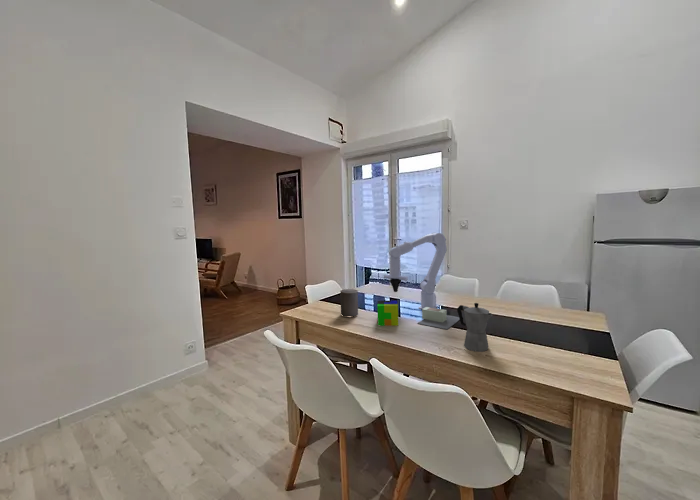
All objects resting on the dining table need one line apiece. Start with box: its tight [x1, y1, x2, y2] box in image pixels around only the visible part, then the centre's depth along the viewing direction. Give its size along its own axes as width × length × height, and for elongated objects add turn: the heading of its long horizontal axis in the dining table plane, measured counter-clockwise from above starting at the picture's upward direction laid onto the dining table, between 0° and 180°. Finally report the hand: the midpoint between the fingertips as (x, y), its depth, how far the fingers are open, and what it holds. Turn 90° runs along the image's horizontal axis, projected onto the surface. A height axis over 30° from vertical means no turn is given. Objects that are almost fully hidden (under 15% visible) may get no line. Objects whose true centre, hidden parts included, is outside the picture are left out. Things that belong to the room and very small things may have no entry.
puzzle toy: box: [376, 300, 399, 327], centre depth 154 cm, size 10×10×10 cm
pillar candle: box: [340, 288, 359, 317], centre depth 168 cm, size 10×10×15 cm
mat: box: [417, 314, 460, 331], centre depth 154 cm, size 20×15×1 cm
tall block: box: [421, 307, 448, 322], centre depth 155 cm, size 5×5×11 cm
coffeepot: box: [456, 302, 493, 353], centre depth 121 cm, size 15×9×18 cm, turn 33°
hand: (395, 291), depth 175 cm, fingers closed
